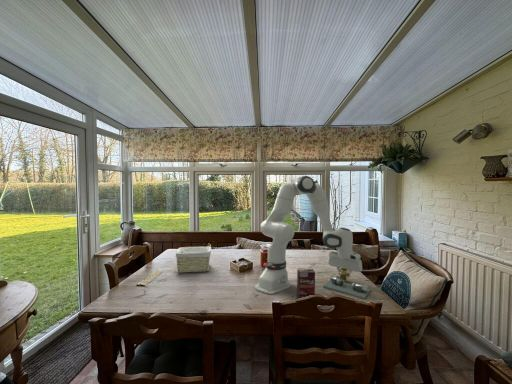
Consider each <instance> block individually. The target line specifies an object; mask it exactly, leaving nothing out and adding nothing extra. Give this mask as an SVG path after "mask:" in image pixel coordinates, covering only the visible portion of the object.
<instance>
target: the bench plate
mask: <svg viewBox="0 0 512 384" xmlns="http://www.w3.org/2000/svg"><path fill="white" fill-rule="evenodd" d="M352 284H353V283H348V282H346V281H344V282H343V285H342V286H339V285H338V284H337V285H334V284H332V283H331V280H330V279H329V281H327V282H326V283H325V284H324V285H322V288H323V289H328V290H330V291H335V292H338V293H341V294H345V295H348V296H350V297H355V298H359V299H362V300H365V299H366V297H367V296H368V295H369V293H370V292H371V289H370V288H368V292H364V291H363V292H362V293H360V292H356V289H355V290H354V289H352Z"/></svg>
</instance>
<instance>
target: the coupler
mask: <svg viewBox="0 0 512 384" xmlns="http://www.w3.org/2000/svg"><path fill="white" fill-rule="evenodd" d="M348 273H350V272H349V270H347V269H343V268H340V274H339V278H341V279H343V281H344V282H347V281H348V280H350V279H349V278H350V277H348V276H347V274H348Z"/></svg>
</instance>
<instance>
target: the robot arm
mask: <svg viewBox="0 0 512 384" xmlns="http://www.w3.org/2000/svg"><path fill="white" fill-rule="evenodd" d="M300 195H301V196H302V195H305V196H307V198H308V200H309V203H310V206H311V209H312V212H313V213H314V215H316V216H317V218H318V219H319V221H320V224H321V225H320V226H321V227H322V231H323V232H322V242H323V245H324V246H325V247H327V248H328V249H336V248H337V251H333V250H332V251H329V252H328V257H329V258H328V262H327V264H328V265H329V266H331V267H335V268H336V269H337V272H338V275H340V269H341V268H343V269H347V270H349V273H348V274H347V276H348V277H349V278H351V274H352V273H353V272H357V273H360V272H362V271H363V263H362V262H363V261H362V259H361V254H359V253H357V252H355V251H353V243H354V240H353V239H354V238H353V237H354V236H353V235H354V234H353V232H352V230H351V229H349V228H347V227H339V228H337V229H336V230H335V229H334V228H333V225H332V221H331V220H330V216H329V215H330V213H329V211H330V205H329V199H328V198H327V194H326V192H325V190H324V188H323V186H322V185H321V184H318V183H316V182H315V180H314V179H313V178H312V177H311V176H309V175H302V176H299V177H297V178H295V179H293V181H291V182H284V183H282V184H281V185H280V187H279V189H278V191H277V193H276V198H275V202H274V205H273V208H272V210H271V212H270V214H269V215H268V216H267V218H265V219H264V220H263V221H261V223H260V232H261V233H262V234H263V235H264V236H266V237H267V238H268V237H269V238H272V242H271V245H269V246H268V247H267V260H266V262H264V263H263V267H265V268H264V270H263V271H262V273H261V274H260V275H259V276H258V277H259V278H258V283H257V284H255V285H254V286H253V287H254V289H255V290H256V291H258V292H261V293H264V294H269V295H274V294H277V293H280V292H282V291H285V290H287V289H289V288H291V285H290V283H289V274H288V271H287V260H286V252H287V251H286V250H287V246H288V244H289V242H290V241H291V240H292V239H293V238H294V236H295V228H294V226H293V225H291V224H290V223H288V222H285V221H284V220H285V219H286V218H287V217H289V216H290V215H291V212H292V208H293V204H294V202H295V201H294V200H295V197H296V196H300Z"/></svg>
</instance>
